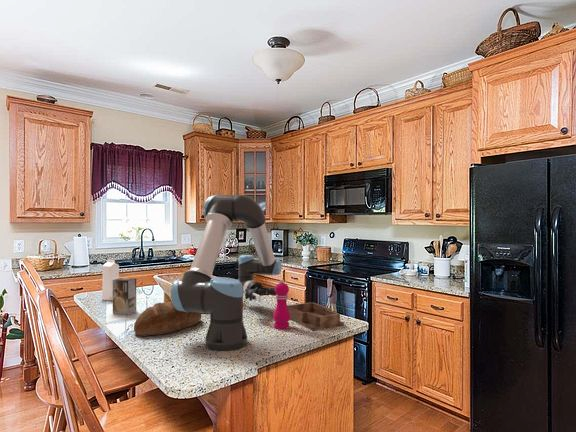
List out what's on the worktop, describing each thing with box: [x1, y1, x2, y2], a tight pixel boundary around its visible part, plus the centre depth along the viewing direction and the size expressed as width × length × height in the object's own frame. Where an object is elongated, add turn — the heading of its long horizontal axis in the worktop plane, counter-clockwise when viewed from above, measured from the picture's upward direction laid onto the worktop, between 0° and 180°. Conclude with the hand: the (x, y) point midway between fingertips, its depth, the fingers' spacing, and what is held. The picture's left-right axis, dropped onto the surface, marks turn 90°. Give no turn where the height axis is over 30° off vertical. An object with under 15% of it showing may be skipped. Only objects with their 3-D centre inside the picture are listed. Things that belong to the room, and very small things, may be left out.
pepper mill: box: [272, 278, 290, 330], centre depth 153 cm, size 7×7×20 cm
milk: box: [101, 259, 120, 301], centre depth 205 cm, size 6×6×22 cm
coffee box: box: [112, 277, 137, 315], centre depth 176 cm, size 9×6×16 cm
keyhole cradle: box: [287, 301, 345, 331], centre depth 163 cm, size 16×24×5 cm, turn 29°
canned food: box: [163, 280, 176, 303], centre depth 192 cm, size 8×8×12 cm
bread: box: [133, 300, 202, 337], centre depth 153 cm, size 16×29×11 cm, turn 142°
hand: (273, 297), depth 161 cm, fingers open, 13 cm apart
